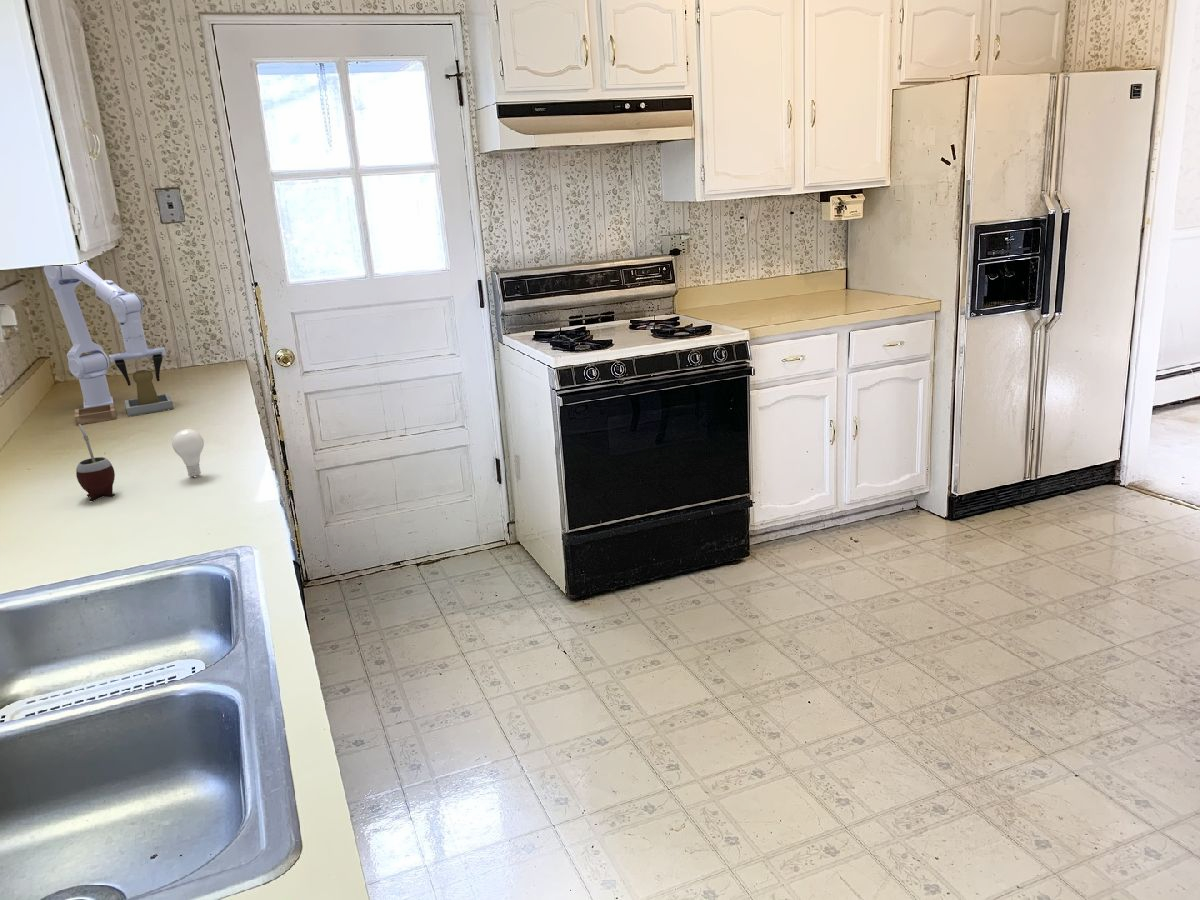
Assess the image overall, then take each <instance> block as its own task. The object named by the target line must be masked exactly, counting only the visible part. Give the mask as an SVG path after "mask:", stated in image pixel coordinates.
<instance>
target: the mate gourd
mask: <svg viewBox="0 0 1200 900" xmlns="http://www.w3.org/2000/svg"><path fill="white" fill-rule="evenodd" d="M77 426H78V427H79V429H80V431H81V433H82V435H83V439H84V441H85V444H86V446H87V449H88V452H89V455H90V458H87V459H84V460H81V461H80V462H78V464H77V466H76V468H75V471H76V473H75V474H76V480H77V482H78V483H79V485H80V487H81V489H82V490H84V491H85V492H86V493H87V494H86V497H87V496H88V497H87V498H90V499H89V502H90V501H93V502H95V501H97V500H99V499H101V498H114V497H115V493H113V487H114V483H115V476H116V473H115V470H114V469H115V468H114V466H113V465H112V463H111V461H110V459H108V458H106V457H103V456H97V457H94V454H93V453H94V452H93V449H92V447H91V443H90V441H89V437H88V435H87V433H86V431H85V428H84V427H83V425H81V424H79V425H77ZM89 496H90V497H89ZM113 496H114V497H113ZM100 497H101V498H100ZM98 498H99V499H98ZM96 499H97V500H96ZM94 500H95V501H94Z"/></svg>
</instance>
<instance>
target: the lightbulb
mask: <svg viewBox="0 0 1200 900" xmlns="http://www.w3.org/2000/svg"><path fill="white" fill-rule="evenodd" d="M204 445H205V442H204V438H203V436H202V435H201V433H200V432H198V431H197V430H195V429H192V428H185V429H181V430H179V431H177V432H176V433H175V435H174V436H173V438H172V441H171V446H172V449H173V451H174V452H175V453H176V455H178V456H179V457H180V458H181V460H182V462H183V463H184V465H185V467H186V470H187V475H188V476H189V477H192V478H195V477H194V476H197V477H198V476H200V475H201V474H202V471H201V467H200V461H201V458H200V457H201V453H202V452H203V449H204Z"/></svg>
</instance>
